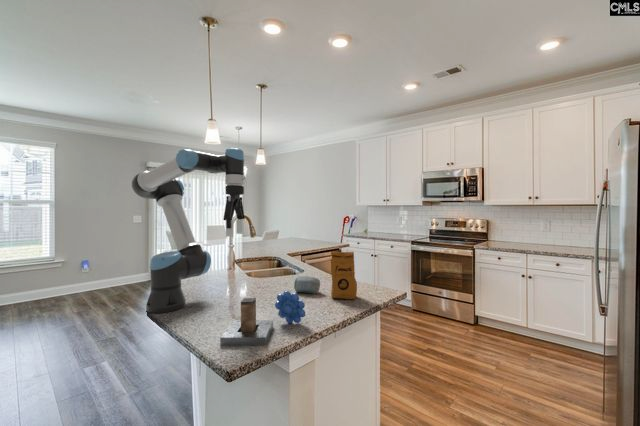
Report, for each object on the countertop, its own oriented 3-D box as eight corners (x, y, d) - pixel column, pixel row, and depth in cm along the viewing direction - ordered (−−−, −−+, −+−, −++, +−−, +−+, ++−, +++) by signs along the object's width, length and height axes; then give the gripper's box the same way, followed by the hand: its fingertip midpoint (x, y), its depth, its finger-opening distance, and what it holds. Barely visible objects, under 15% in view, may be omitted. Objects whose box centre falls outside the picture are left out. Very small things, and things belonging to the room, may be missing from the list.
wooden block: (241, 338, 95) (240, 301, 95) (244, 333, 99) (244, 298, 99) (253, 338, 95) (252, 301, 95) (256, 333, 99) (255, 298, 99)
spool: (288, 287, 145) (296, 268, 148) (295, 291, 153) (303, 273, 156) (311, 297, 139) (319, 278, 142) (317, 301, 147) (325, 282, 150)
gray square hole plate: (220, 345, 90) (220, 337, 90) (234, 327, 104) (233, 320, 104) (265, 345, 90) (265, 337, 90) (273, 327, 104) (273, 320, 104)
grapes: (271, 326, 104) (270, 293, 104) (277, 319, 111) (277, 288, 111) (302, 329, 102) (302, 295, 102) (307, 321, 108) (306, 289, 108)
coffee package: (356, 301, 132) (356, 253, 132) (329, 299, 135) (329, 252, 135) (357, 295, 142) (357, 250, 142) (332, 293, 145) (332, 249, 144)
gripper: (234, 182, 112) (234, 237, 112) (251, 187, 136) (251, 232, 137) (214, 182, 112) (214, 237, 112) (235, 187, 137) (235, 232, 137)
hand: (234, 235), depth 124 cm, fingers open, 13 cm apart
